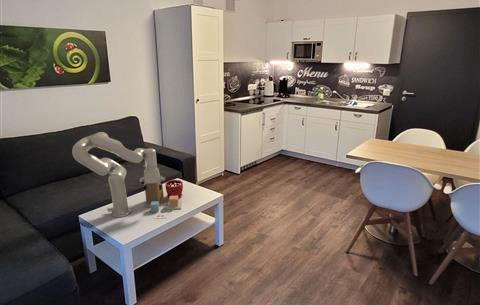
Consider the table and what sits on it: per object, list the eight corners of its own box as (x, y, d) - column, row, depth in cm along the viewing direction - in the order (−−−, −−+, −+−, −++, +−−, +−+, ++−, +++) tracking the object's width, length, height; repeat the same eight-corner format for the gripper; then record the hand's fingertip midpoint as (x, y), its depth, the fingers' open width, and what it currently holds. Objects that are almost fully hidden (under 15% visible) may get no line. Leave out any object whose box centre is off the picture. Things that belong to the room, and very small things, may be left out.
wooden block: (158, 205, 231) (156, 180, 225) (146, 204, 233) (143, 179, 227) (164, 199, 240) (162, 175, 234) (152, 198, 242) (149, 174, 236)
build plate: (166, 210, 224) (166, 208, 224) (168, 203, 233) (168, 202, 233) (180, 209, 225) (180, 207, 225) (181, 202, 234) (181, 201, 234)
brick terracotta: (169, 207, 226) (169, 199, 224) (170, 203, 231) (169, 195, 229) (178, 206, 226) (177, 199, 224) (178, 202, 232) (178, 195, 230)
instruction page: (154, 218, 212) (154, 218, 212) (155, 214, 218) (155, 214, 217) (166, 218, 213) (166, 217, 213) (167, 213, 218) (167, 213, 218)
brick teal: (151, 212, 221) (150, 204, 219) (152, 209, 225) (151, 201, 223) (158, 212, 221) (157, 204, 219) (159, 208, 226) (158, 201, 224)
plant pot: (163, 199, 240) (162, 185, 237) (171, 192, 252) (170, 178, 249) (178, 201, 236) (177, 187, 233) (186, 194, 248) (185, 180, 245)
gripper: (137, 169, 209) (139, 192, 214) (163, 168, 211) (165, 191, 216) (139, 165, 216) (141, 188, 221) (164, 164, 218) (166, 187, 223)
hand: (153, 189), depth 218 cm, fingers open, 9 cm apart
